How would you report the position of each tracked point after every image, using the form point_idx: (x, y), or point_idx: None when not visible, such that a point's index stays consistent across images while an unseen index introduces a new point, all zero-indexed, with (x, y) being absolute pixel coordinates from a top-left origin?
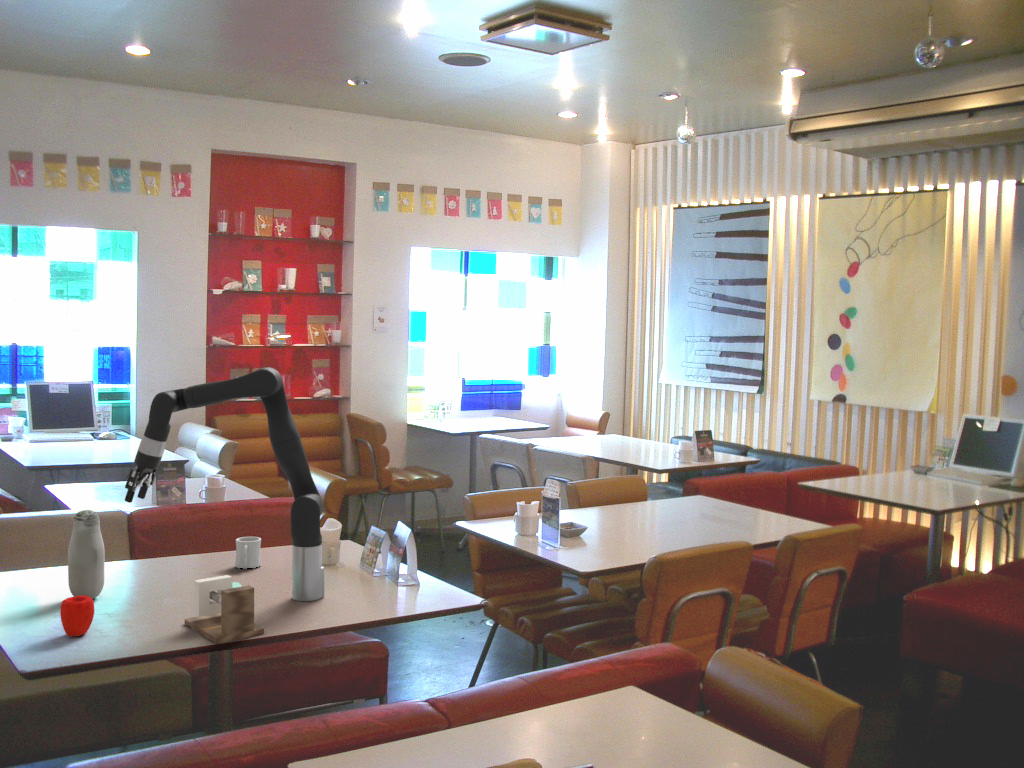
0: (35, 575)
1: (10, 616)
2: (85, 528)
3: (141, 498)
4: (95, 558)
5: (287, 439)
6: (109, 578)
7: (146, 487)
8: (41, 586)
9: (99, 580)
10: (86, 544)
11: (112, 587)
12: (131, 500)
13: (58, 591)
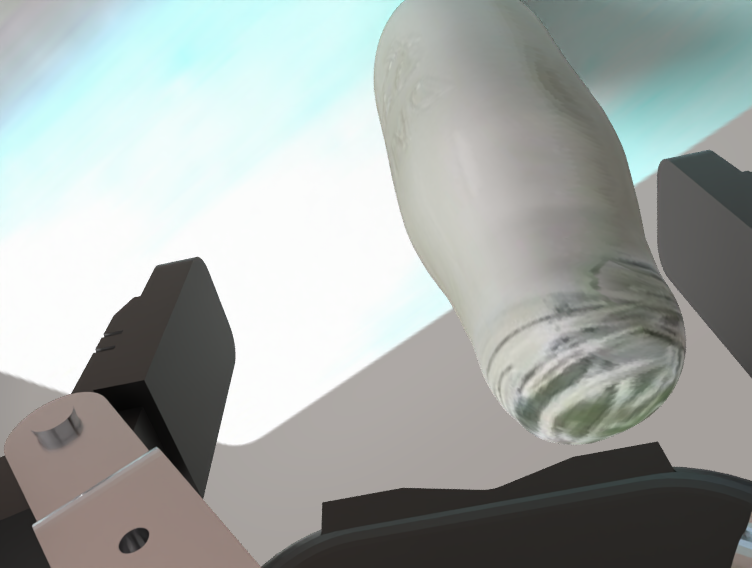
0: (234, 388)
1: (726, 117)
2: (654, 265)
3: (210, 282)
4: (550, 76)
5: None
6: (106, 187)
7: (129, 418)
8: (337, 296)
9: (473, 2)
10: (623, 168)
11: (219, 68)
12: (724, 160)
13: (373, 211)
